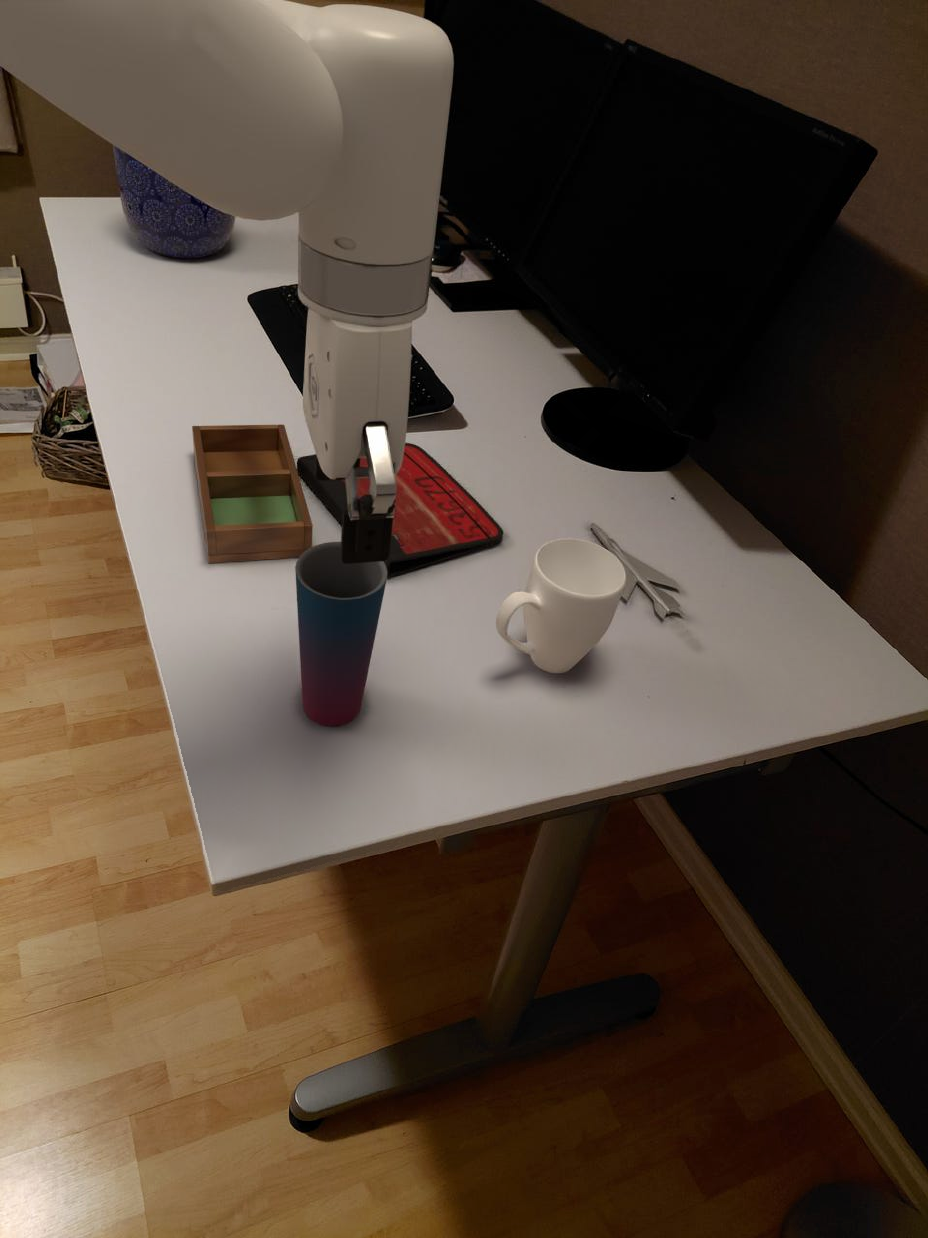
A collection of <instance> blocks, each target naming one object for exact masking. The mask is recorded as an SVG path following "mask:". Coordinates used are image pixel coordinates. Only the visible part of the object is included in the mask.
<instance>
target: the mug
mask: <svg viewBox="0 0 928 1238" xmlns="http://www.w3.org/2000/svg"><path fill="white" fill-rule="evenodd" d="M625 582H626V573H625V570H624V567H623V565H622V564H621V562H620V561H619V560H618V559H617V557H616V556H614V555H613V554H612V553H611V552H609V550H608V549H607V548H605V547H603V546H601V545H600V544H597V543H595V542H591V541H588V540H585V539H580V538H579V539H578V538H571V537H570V538H568V537H567V538H558V539H557V538H556V539H554V540H550V541H548V542H546V543H544V544H543V545H541V546H540V547H539V548H538V550H537V551H536V552H535V555H534V557H533V560H532V563H531V567H530V571H529V575H528V578H527V582H526V586H525V591H520V590H519V591H518V590H517V591H515V592H512V593H510V594H509V595H508V596H506V598H505V599H504V600H503V602H502V603H501V604H500V606H499V608H498V610H497V613H496V617H495V627H496V631H497V633H498V634H499V636H500V637H501V638H502V639H503V641H505V642H506V643H507V644H508V645H510V646H511V647H513V648H515V649H517V650H519V651H521V652H523V653H524V654H529V655H530V658H531V661H532V663H534V665H535V666H536V667H537V668H539V669H540V670H542V671H545V672H546V673H550V674H563V673H567V672H568V671H570V670H572V669H573V667H574V666H576V665H577V664H578V663H579V662H580V661H581V660H582V659H583V658H584V657H585V656H586V655H587V654H589V652H590V651H591V650H592V649H593V648H594V647H595V646H596V645H597V644H598V643H599V642H600V640H601V639H603V637H604V636H605V634H606V633H607V631H608V630H609V627H610V626H611V625H612V622H613V620H614V617H615V614H616V611H617V609H618V606H619V603H620V601H621V598H622V596H621V595H622V593H623V590H624V586H625ZM521 607H522V616H523V625H524V629H525V635H526V641H527V642H526V641H525V642H522V641H519V640H517V639H516V638H513V636H510V635H508V627H509V623H510V620H511V618H512V616H513V615H514V613H515V612H516V611H517V610H518V609H519V608H521Z"/></svg>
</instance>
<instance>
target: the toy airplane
mask: <svg viewBox="0 0 928 1238" xmlns="http://www.w3.org/2000/svg"><path fill="white" fill-rule="evenodd" d="M590 527H591V529H592V530H593V533H594V534H595V535H596V537H597V538H598V539H599V540H600V542H601V543H602V545H604V547H606V550H608V551H609V552H611V553H612V554H613V555H614V556H616V557H617V559H618V560H619V561H620V562H621V564H622V565H623V567H624V570H625V573H626V582H625V586H624V590H623V593H622V595H621V598H623V599H624V600H625V601H626V602H628V600H629V598H630V596H631V594H632V592H633V591H634V589H635V586H636V584H638V586H640V588H641V589H642V590H643V591H644V593H645V594H647V596H648V597H649V598H650V599H651V600H652V601H653V606H654V611H655V612H656V614H657V615H658V616H659V617H660V618H661V619H662V620H663V621H664V620H665V617H666V615H672V613H676V614H680V615H683V616H685V613H684V612H683V611H682V610H681V609H680V608H682V605H681V604H680V602H678V601H677V599H675V597H674V596H672V595H671V594H669V593H667V592H666V591H664V590H662V589H661V588H659V587H657V586H656V585H654V584H652V583H651V582H653V583H657V584H660V585H664V586H667V587H671V588H674V589H678V590H682V589H681V587H680V586H679V584H678V583H677V581H676V580H674V579H673V578H671V577H669V576H668V575H666V574H664V573H663V572H661V571H659V570H657V569H656V568H654V567H652V566H651V565H648V564H647V563H645V562H644V561H642V560H640V559H638V558H636V557H635V556H633V555H631V554H630V553H628V552H627V551H624V550H623V549H621V546H620V545H619V544H618V543H617V542H616V541H615V540H614V539H612V538H611V537H610V536H609V535H608V534H607V532H605V531H604V530H603V529H602V528H601V527H600V526H598V525H597V524H596V523H594V522H591V524H590ZM679 623H681V621H680V620H679V621H677V623H676V624H677V625H679ZM688 631H689V630H686V631H684V633H685V634H686V633H688ZM692 640H695V638H693V639H692ZM698 645H699V643H698ZM698 645H697V646H698Z"/></svg>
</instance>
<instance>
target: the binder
mask: <svg viewBox="0 0 928 1238" xmlns="http://www.w3.org/2000/svg"><path fill="white" fill-rule="evenodd" d="M315 463H316V453H314V454H309V455H304V456H303V455H302V456H299V457H298V458H297V461H296V468H297V472H298V476H300V477H301V478H302V479H303V480H304V482H305V483H306V484H307V486H309V488H310V489H311V491H313V493H314V494H315V495H316V496H317V497H318V499H319V500H320V501H321V502H322V503H323V504H324V506H325V507H326V508H327V510H328V511H330V513H331V514H332V515H333V516H334V517H335V519H336V520H337V521H338V523H339V524H340V525H342V515H343V510H348V504H347V493H346V482H345V480H326V481H321V480H318V479H317V477H316V474H315ZM360 467H368V465H367V459H366V458H360ZM395 479H396V485H397V493H396V496H395V501H396V503H394V505H395V506H396V507H395V508H394V510H395V511H394V517H393V524H392V534H391V544H390V554H389V558H388V559H387V560H385V561H384V563H385V565H386V568H387V579H388V578H391V577H395V576H398V575H402V574H404V573H407V572H409V571H413V570H416V569H418V568H422V567H425V566H428V565H431V564H434V563H438V562H440V561H444V560H447V559H450V558H454V557H457V556H461V555H463V554H467V553H470V552H473V551H475V550H479V549H483V548H485V547H490V546H492V545H495V544H498V543H500V542H501V541H502V540H503V537H504V529H503V528H502V527H501V526H500V524H499V523H498V522H497V521H496V520H495V519H494V518H493V517H492V516H491V515H490V514H489V512H488V511H487V510H486V509H485V508H484V507H483V505H482V504H480V503H479V501H477V499H476V498H474V496H473V495H471V493H470V492H469V491H467V489H465V487H464V486H463V485H462V484H460V482H459V481H458V480H456V479H455V478H454V477H453V475H451V474H450V473H449V472H448V471H447V470H446V468H444V467H443V466H442V465H441V464H440V463H439V462H438V461H437V460H435V458H434V457H433V456H431V454H429V453H428V452H427V451H426V450H425V449H423V448H422V447H420V446H419V445H417V444H414V443H411V442H405V448H404V455H403V460H402V465H401V468H400V470H399V472H398V473H397V474H396V475H395ZM357 485H358V496H359V499H360V498H361V497H362V496H363V495H367V494H370V493H369V488H370V478H365V479H357Z"/></svg>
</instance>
